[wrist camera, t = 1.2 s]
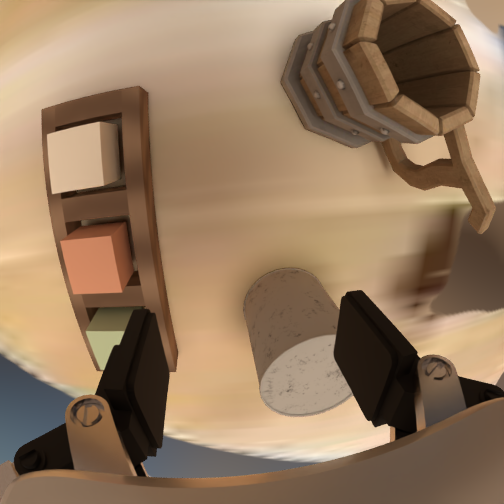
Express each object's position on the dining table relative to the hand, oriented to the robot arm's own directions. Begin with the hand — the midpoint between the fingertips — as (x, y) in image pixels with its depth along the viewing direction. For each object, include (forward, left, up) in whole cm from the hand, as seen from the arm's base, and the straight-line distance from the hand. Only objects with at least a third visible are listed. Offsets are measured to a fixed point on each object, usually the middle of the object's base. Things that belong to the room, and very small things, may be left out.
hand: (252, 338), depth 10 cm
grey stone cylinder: (+11, +6, -20) cm, 24 cm away
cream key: (-7, -12, -18) cm, 22 cm away
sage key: (+11, -12, -18) cm, 24 cm away
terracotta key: (+2, -12, -18) cm, 21 cm away
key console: (+2, -12, -20) cm, 23 cm away
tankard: (-10, +14, -20) cm, 26 cm away
